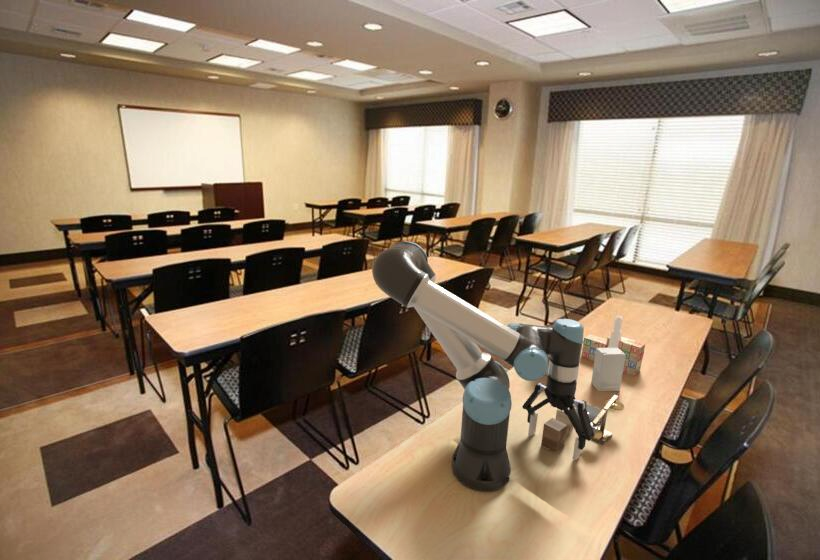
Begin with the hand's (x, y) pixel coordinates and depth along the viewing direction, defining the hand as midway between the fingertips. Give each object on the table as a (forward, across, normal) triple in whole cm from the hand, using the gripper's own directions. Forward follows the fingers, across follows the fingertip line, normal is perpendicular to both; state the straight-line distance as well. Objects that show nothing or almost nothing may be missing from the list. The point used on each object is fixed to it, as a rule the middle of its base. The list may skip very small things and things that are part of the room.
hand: (553, 445), depth 114 cm
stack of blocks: (0, +12, -66) cm, 67 cm away
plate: (0, +1, -23) cm, 23 cm away
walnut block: (0, 0, 0) cm, 0 cm away
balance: (0, -7, -15) cm, 16 cm away
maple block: (0, +2, -10) cm, 10 cm away
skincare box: (+1, +5, -46) cm, 46 cm away
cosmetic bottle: (+1, +11, -64) cm, 65 cm away
